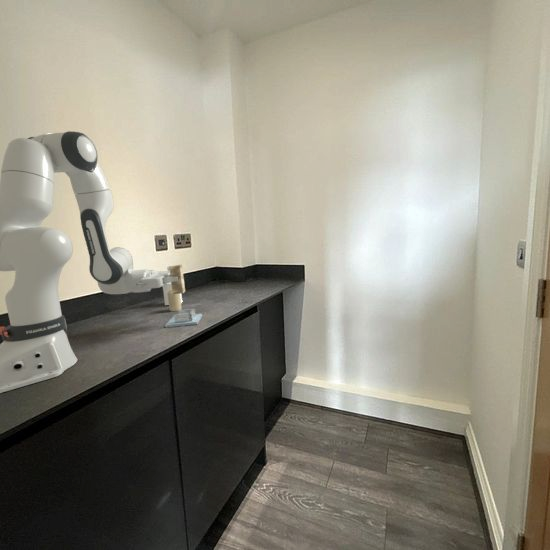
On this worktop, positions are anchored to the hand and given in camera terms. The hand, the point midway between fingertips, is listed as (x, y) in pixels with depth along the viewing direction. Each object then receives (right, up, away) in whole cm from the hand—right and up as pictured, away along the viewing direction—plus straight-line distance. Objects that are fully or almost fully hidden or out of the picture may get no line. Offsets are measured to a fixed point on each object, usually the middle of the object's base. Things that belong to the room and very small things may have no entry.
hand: (179, 277), depth 116 cm
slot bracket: (+2, -17, +2) cm, 17 cm away
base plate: (+1, -18, +2) cm, 18 cm away
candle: (-9, -16, +23) cm, 30 cm away
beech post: (0, -6, +1) cm, 6 cm away
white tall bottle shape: (-15, -14, +37) cm, 42 cm away
